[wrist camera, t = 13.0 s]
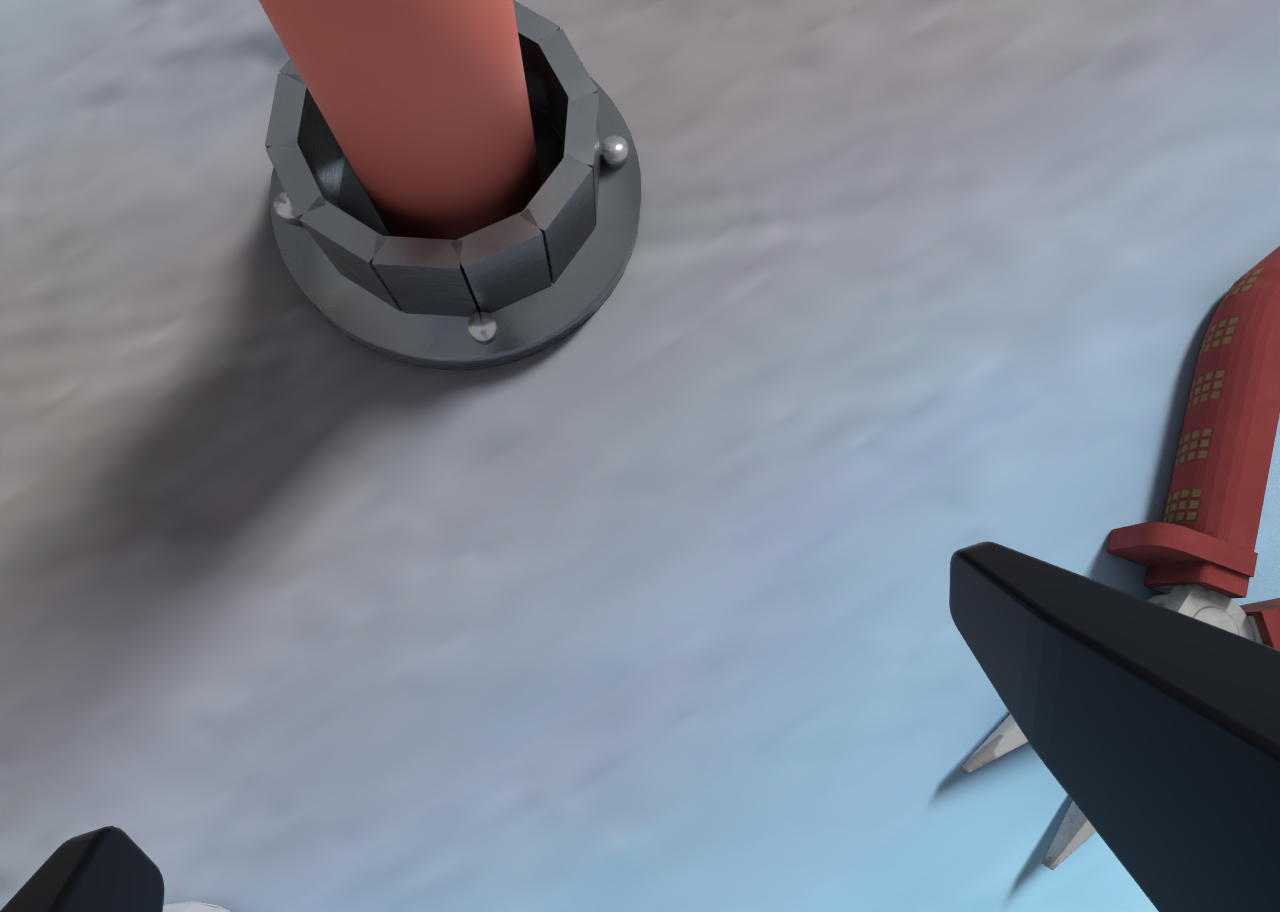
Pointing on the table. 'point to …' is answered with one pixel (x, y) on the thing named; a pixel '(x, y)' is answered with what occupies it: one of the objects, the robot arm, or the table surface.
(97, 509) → the table surface
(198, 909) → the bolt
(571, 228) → the pipe socket
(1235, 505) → the pliers
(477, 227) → the orange capped cylinder
